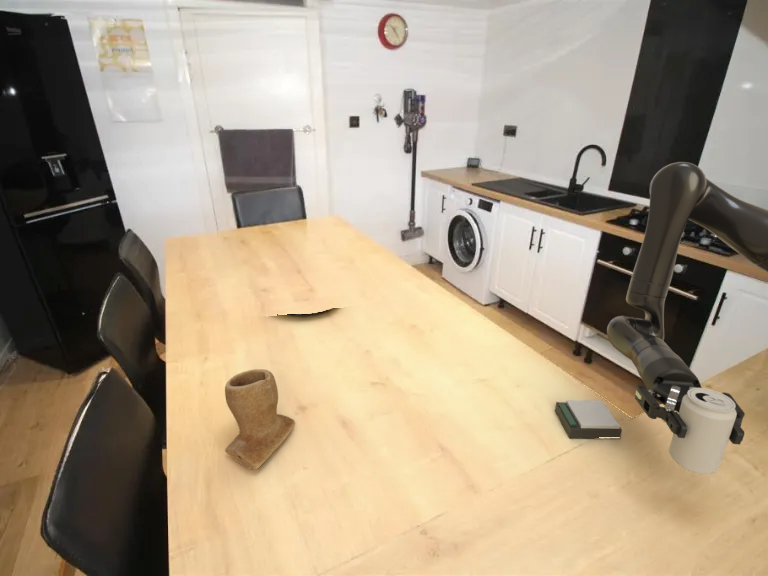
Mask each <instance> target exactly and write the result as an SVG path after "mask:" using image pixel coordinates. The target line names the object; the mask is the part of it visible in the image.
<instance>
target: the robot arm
mask: <svg viewBox="0 0 768 576" xmlns="http://www.w3.org/2000/svg"><path fill="white" fill-rule="evenodd" d="M688 221H690V222H693V223H695V224H696V225H699V226H700V227H702V228H704V229H706V230H707V231H709V232H710V233H712V234H713V235H714V236H716V237H717V238H718V239H719V240H721V242H723V243H724V244H725V245H727V246H728V247H729V248H731V249H732V250H733V251H735V252H736V253H737V254H738V255H740V256H742V257H743V258H745V259H746V260H747V261H749V262H750V263H752V264H753V265H755V266H756V267H759V269H762V270H763V271H764V272H767V273H768V209H766V208H763V207H760V206H758V205H755V204H752V203H749V202H746V201H744V200H742V199H739V198H738V197H735V196H734V195H732V194H731V193H730V192H729V193H728V192H727V191H725V190H724V189H722V188H721V187H719V186H718V185H716V184H715V183H714V182H712V181H711V180H710V179H708V178H707V177H706V174H705V173H704V171H703V170H702V169H701V168H700V167H699V166H697V165H696V164H694V163H692V162H688V161H676V162H672V163H669V164H667V165H666V166H665V165H664V166H663V167H661V169H659V170H658V171H657V172H656V173H655V175H654V176H653V177H652V179H651V181H650V183H649V206H648V217H647V223H646V227H645V232H644V236H643V239H642V243H641V246H640V249H639V252H638V255H637V257H636V262H635V265H634V268H633V271H632V275H631V278H630V282H629V285H628V289H627V292H626V297H625V301H626V303H627V304H628V305H630V306H632V307H634V308H636V309H640V310H642V311H644V315H645V316H644V318H640V317H635V316H628V315H618V316H615V317H613V318H612V319H611V320H610V321H609V323H608V325H607V326H606V327H607V328H606V334H607V338H608V341H609V342H610V344H611V345H612V347H613V348H614V349H615V350H617V351H618V352H619V353H620V354H622V355H623V356H625V357H626V358H627V359H629V360H631V362H632V363H633V365H634V367H635V368H636V370H637V373H638V375H639V377H640V379H641V381H642V382H643V384H644V385H642V384H638V385H637V386H636V390H635V395H634V399H635V400H636V402H637V404H638V405H639V407H640V408H641V409H642V410H643V412H644V413H645V414H646V416H647V417H648V418H649V419H651V420H656V419H657V418H658V419H661V421H662V422H663V423H665V424H666V426H667V427H668V429H669V430H670V432H671V433H672V434H673V433H674V434H676V435H677V437H678V438H685V436H686V432H687V426H686V424H685V423H684V422H683V420H682V419H681V417H680V416H679V410H680V406H681V403H682V399H683V397H684V396H685V395H686V394H687V392H688V390H690V389H692V388H703V387H702V385H701V383H700V382H701V381H700V380H699V378H698V377H697V375H696V374H695V373H694V372H693V371H692V369H690V367H689V366H688V365H687V364H686V363H685V362H684V360H683V359H682V358H681V357H680V356H679V355H678V354H676V353H675V351H673V350H672V348H671V347H670V346H669V345H668V344H667V343H666V342H665V341H664V340H665V323H664V322H665V317H664V315H665V302H666V298H667V295H668V292H669V290H670V285H671V282H672V279H673V275H674V271H675V266H676V261H677V256H678V252H679V248H680V244H681V240H682V237H683V234H684V231H685V229H686V226H687V224H688ZM721 393H722V394H724V395H726V396H728V397H729V398H730V399H732V400H733V401H734V403H735V405H736V407H735V410H736V413H737V416H736V419H735V422H734V425H733V428H732V431H731V434H730V437H729V440H728V441H730V443H731V444H733V445H737V446H740V445H741V443H742V442H743V440H744V437H745V430H744V429H743V428H742V423H743V420H744V418H745V415H746V413H745V412H744V410H743V409H742V407H740V405H739V403H738V402H737V401H736V400H735V399H734V397H733V396H732V394H730V393H728V392H725V391H724V392H721ZM659 403H660V404H662V405H663V406H661V405H660V404H659Z"/></svg>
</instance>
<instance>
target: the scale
mask: <svg viewBox="0 0 768 576" xmlns="http://www.w3.org/2000/svg"><path fill="white" fill-rule="evenodd" d="M554 412H555V415H556V416H557V418H558V419H559V421H560V423H561V426H562V427H563V429H564V431H565V432H566V435H567V436H568V438H569V439H570V440H571V439H572V440H596V439H595V438H599V437H620V438H621V436H622V432H623V429H622V428H621V425H620V424H619V422H618V421H617V420H616V418H615V417H614V415H613V414H612V412H610V410H609V408H608V407H607V406H606V405H605V403H604V402H603V400H601V399H600V400H599V399H598V400H593V399H592V400H591V399H589V400H588V399H569V400H568V399H566V400H565V402H564V401H559V402H555V408H554Z"/></svg>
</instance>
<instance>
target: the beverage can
mask: <svg viewBox="0 0 768 576" xmlns="http://www.w3.org/2000/svg"><path fill="white" fill-rule="evenodd" d="M722 393H723V392H719V391H717V390H714V389H710V388H705V387H702V388H692V389H690V390H688V392H687V394H686V395H685V396H684V397H683V399H682V403H681V406H680V410H679V413H678V414H679V416H680V417H681V419H682V420H683V422H684V423H685V424H686V426H687V432H686V436H685V438H678V437H677V435H676V434H674V433H673V432H672V436H671V441H670V444H669V449H668V453H669V456H670V457H671V459H672V460H673V461H674V462H675V463H676V464H677V465H678V466H680V468H682V469H684V470H686V471H688V472H691V473H692V474H697V475H702V476H703V475H713V474H716V473H718V471H719V470H720V468H721V465H722V461H723V459H724V455H725V452H726V450H727V446H728V443H729V441H730V440H729V437H730V434H731V431H732V428H733V425H734V422H735V419H736V416H737V413H736V410H735V407H736V405H735V403H734V401H733V400H732V399H730V398H729V397H728V396H726V395H724V394H722Z"/></svg>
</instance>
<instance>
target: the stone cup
mask: <svg viewBox="0 0 768 576" xmlns="http://www.w3.org/2000/svg"><path fill="white" fill-rule="evenodd" d="M278 391H279V390H278V385H277V381H276V379H275V376H274V374H273V372H272V371H270V370H268V369H263V368H255V369H250V370H249V369H248V370H246V371H242V372H240V373H237V374H235V375H234V376H232V377H230V379H229V380H227V382H226V384H225V386H224V395H225V396H224V397H225V403H226V405H227V407H228V409H229V411H230V412H231V414H232V416H233V417H234V420H235V422H236V424H237V426H238V429H239V434H238V435H236V437H235V438H234V439H233V440H232V441H231V442H230V444H228V446H227V447H226V448H225V450H224V451H225V453H226V454H227V455H229V456H230V457H231V459H232V460H234V461H235V462H236V463H238V464H239V465H240V466H243V467H245V468H246V469H250V470H257V469H259V468H260V467H261V466H262V465H263V464H264V463H265V462H266V461H267V460H268V459H269V458H270V457H271V456H272V455H273V454H274V453H275V451H276V450H277V449H278V448H279V447H280V446H281V444H282V443H284V441H285V440H286V438H287V437H288V436H289V435H290V434H291V432H292V431H293V430H294V427H295V425H296V421H295V420H294V419H293V418H291V417H289V416H288V415H287V416H286V415H283V414H279V413H278V403H279V392H278Z"/></svg>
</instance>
